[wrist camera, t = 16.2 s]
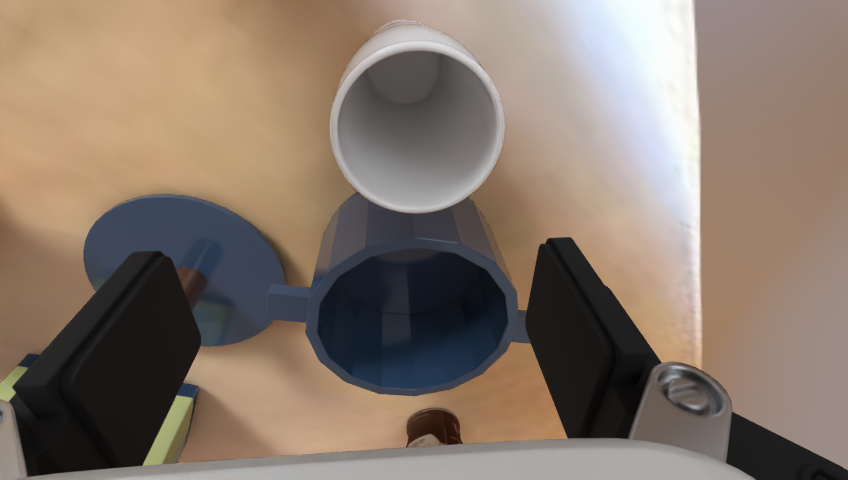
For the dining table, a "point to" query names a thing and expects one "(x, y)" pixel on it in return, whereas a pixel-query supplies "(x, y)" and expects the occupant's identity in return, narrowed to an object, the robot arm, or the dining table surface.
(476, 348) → the pot
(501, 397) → the dining table surface
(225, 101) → the dining table surface
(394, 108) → the white tumbler
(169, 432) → the protein box
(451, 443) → the coffee cup
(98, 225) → the pot lid
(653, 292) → the dining table surface
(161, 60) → the dining table surface
